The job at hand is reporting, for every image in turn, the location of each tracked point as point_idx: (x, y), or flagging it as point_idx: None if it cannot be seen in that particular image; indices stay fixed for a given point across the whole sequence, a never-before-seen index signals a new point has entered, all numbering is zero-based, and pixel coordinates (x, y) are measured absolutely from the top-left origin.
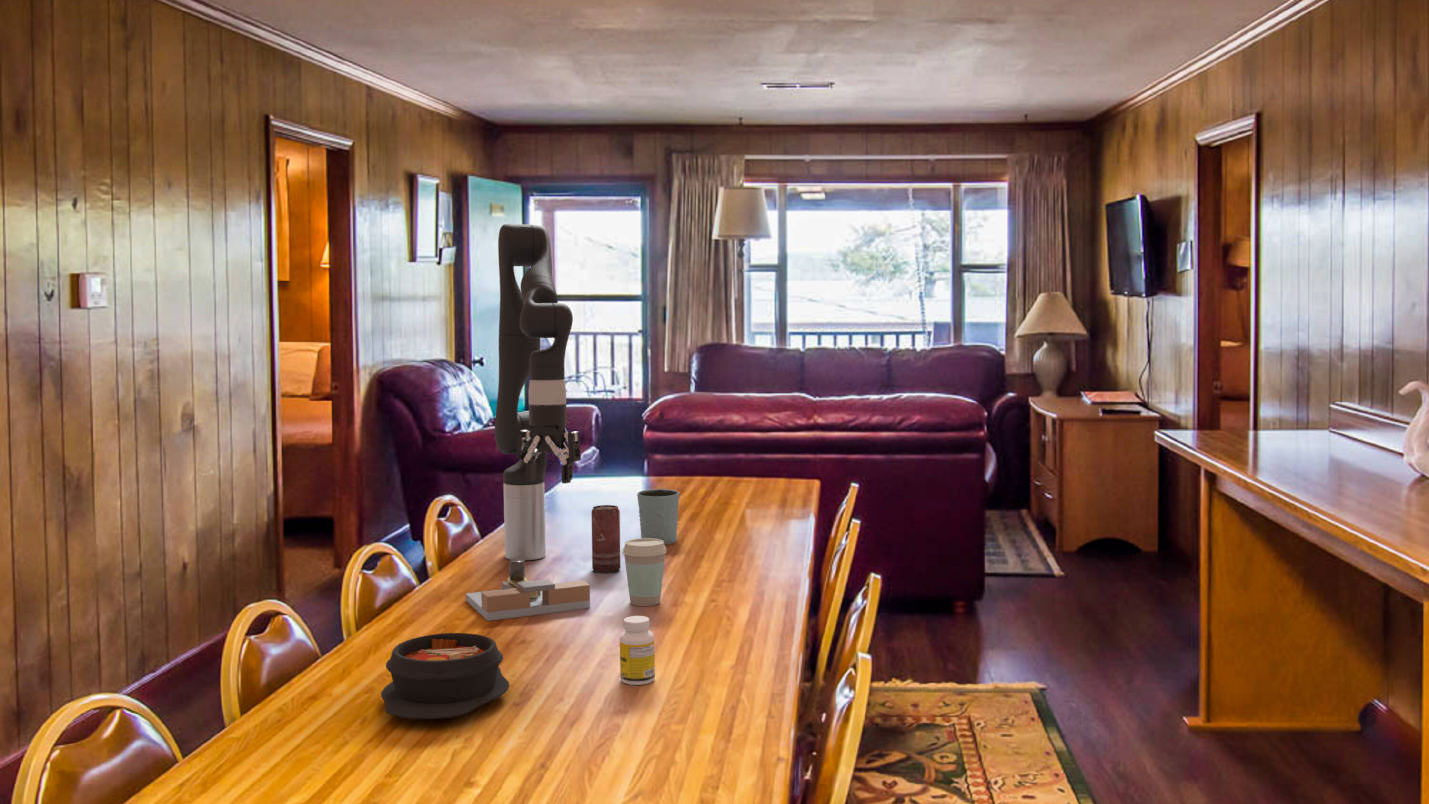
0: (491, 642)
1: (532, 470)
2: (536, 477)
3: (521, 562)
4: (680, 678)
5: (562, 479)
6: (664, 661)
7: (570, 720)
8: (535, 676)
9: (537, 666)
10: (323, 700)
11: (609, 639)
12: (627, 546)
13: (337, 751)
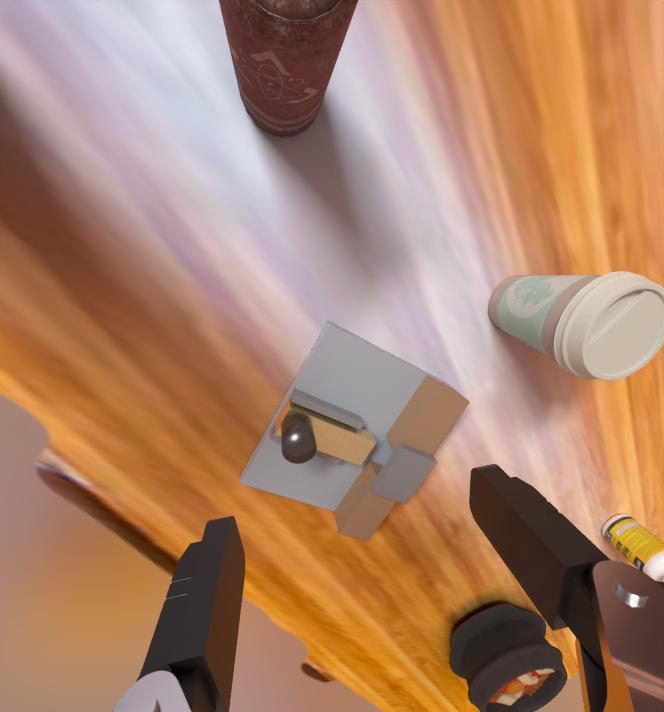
0: (556, 668)
1: (230, 616)
2: (229, 527)
3: (316, 449)
4: (648, 500)
5: (488, 529)
6: (622, 478)
7: None
8: None
9: None
10: (407, 684)
11: (541, 465)
12: (592, 377)
13: None
